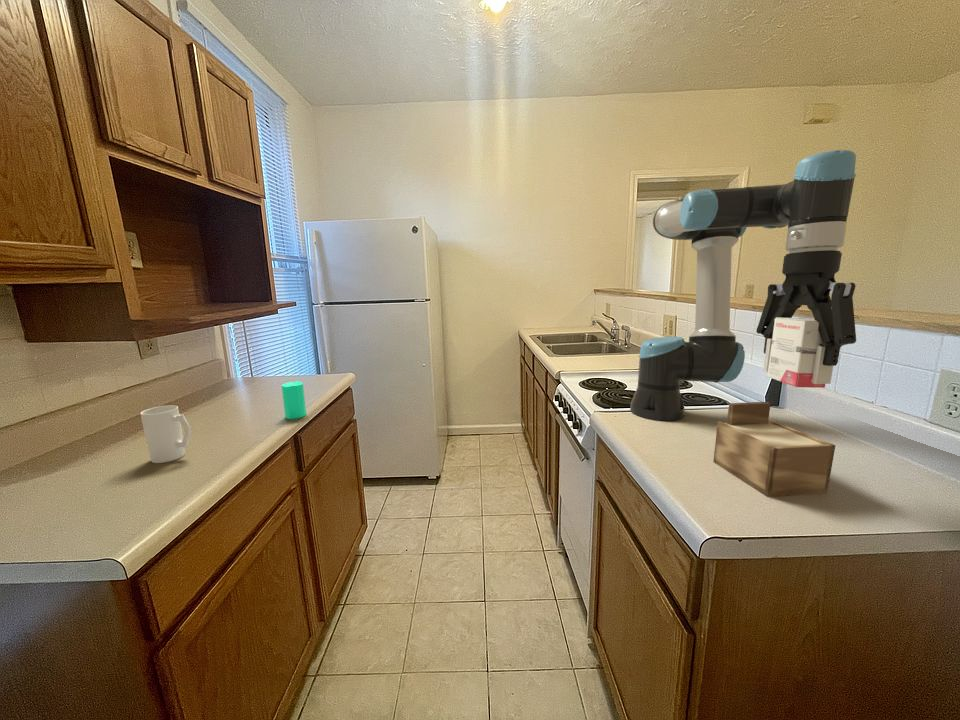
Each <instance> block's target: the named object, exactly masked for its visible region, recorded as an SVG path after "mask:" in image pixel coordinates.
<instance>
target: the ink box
mask: <svg viewBox="0 0 960 720" xmlns="http://www.w3.org/2000/svg"><path fill="white" fill-rule="evenodd" d="M818 326H819V322H817V321H816V320H815V319H814V318H813V319H812V318H801V317H792V318H778V317H776V318H775V322H774V329H773V337H772V345H771V352H770V359H769V367H768V372H767V375H766V376H767V377H768V378H770V379H774V380H775V381H777V382H778V381H779V382H781V383H783V384H787V385H790V386H791V387H795V388H811V389H812V388H813V389H814V388H818V389H819V388H822V389H823V388H825V387H826V384H813V383H812V377H813V371H814V364H815V358H816V351H817V346H820V345H819V344H821V343H822V340H821V337H820V334H819V331H818ZM831 339H832V338H831Z"/></svg>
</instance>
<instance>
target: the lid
mask: <svg viewBox="0 0 960 720" xmlns="http://www.w3.org/2000/svg"><path fill="white" fill-rule="evenodd" d="M771 405H772V404H771V403H770V402H768V401H755V402H754V401H753V402H751V401H750V402H749V401H748V402H729V403H728V412H727V419H726V422H724V423H725V424H727V425H729V426H731V427H733V428H736V429H738V430H740V431H742V432H744V433H746V434H748V435H750V436H752V437H754V438H756V439H759V440H761V441H763V442H765V443H767V444H769V445H771V446H773V447H783V446H801V445H820V444H821V443H819V442H816V441H814V440H811V439H809V438H806V437H804V436H801V435H799V434H796V433H794V432H792V431H789V430H787V429H784V428H782V427H779V426H777V425H774V424H772V423H769V422H768V419H770V418H769V417H770V410H771Z"/></svg>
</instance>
